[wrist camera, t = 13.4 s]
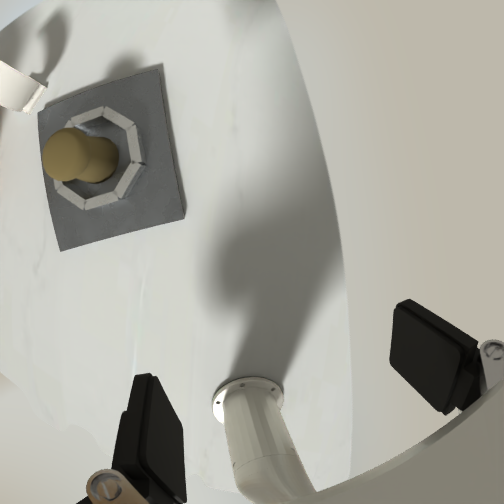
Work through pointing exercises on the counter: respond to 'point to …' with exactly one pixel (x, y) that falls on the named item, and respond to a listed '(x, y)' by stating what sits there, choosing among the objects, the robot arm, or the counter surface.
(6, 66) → the headphone stand
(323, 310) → the counter surface
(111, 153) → the cork
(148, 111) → the plate
